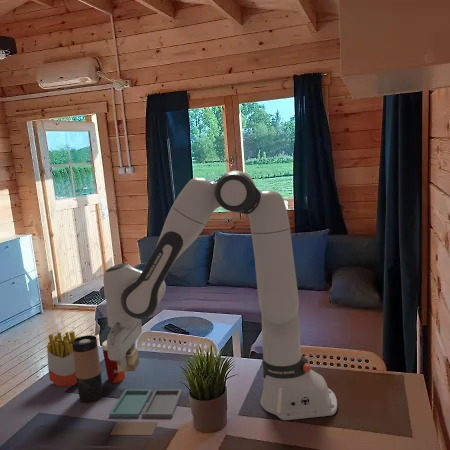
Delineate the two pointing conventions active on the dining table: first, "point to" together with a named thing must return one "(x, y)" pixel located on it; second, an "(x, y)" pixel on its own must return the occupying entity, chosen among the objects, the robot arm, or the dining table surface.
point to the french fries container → (61, 359)
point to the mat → (134, 428)
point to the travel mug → (87, 368)
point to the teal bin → (131, 403)
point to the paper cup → (112, 367)
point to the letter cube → (130, 360)
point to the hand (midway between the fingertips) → (128, 360)
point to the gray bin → (162, 403)
